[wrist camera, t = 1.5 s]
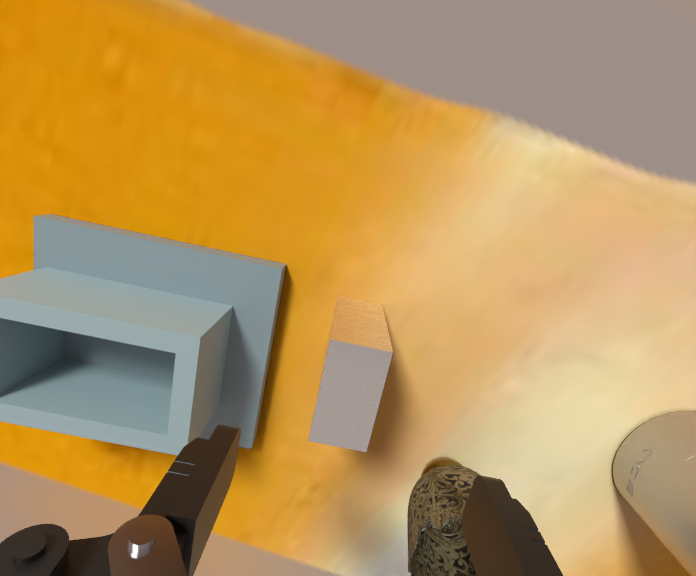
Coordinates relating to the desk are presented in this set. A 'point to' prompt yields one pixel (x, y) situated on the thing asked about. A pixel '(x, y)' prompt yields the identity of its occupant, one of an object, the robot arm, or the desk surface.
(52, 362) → the well board
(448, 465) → the cup
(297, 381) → the desk surface
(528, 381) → the desk surface
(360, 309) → the grey painted wood block
